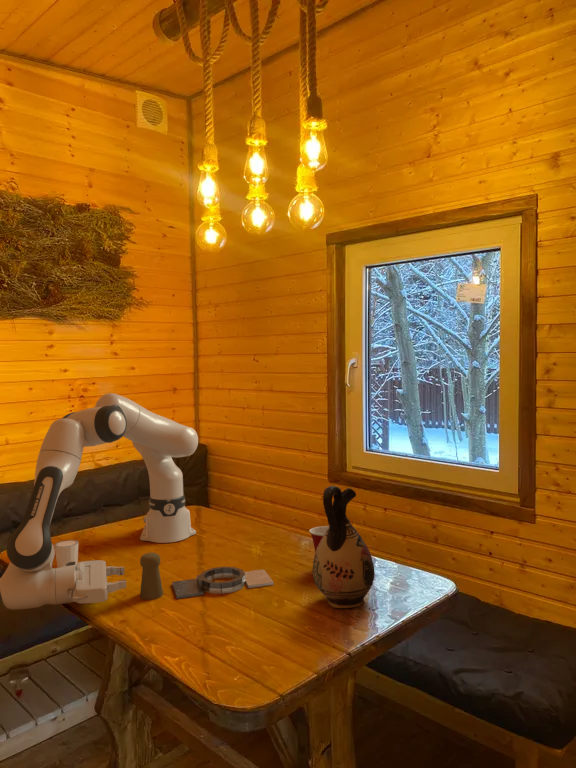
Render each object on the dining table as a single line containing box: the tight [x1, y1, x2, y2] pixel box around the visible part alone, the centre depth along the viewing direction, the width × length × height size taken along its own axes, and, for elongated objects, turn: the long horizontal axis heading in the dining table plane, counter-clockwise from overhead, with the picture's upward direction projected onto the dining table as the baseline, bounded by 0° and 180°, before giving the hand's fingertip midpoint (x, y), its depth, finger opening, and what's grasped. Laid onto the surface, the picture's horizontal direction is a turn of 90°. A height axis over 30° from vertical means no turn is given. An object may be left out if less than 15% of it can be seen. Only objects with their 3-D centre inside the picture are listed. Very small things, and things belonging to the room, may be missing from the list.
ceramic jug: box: [312, 485, 376, 609], centre depth 154 cm, size 17×15×30 cm
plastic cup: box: [308, 525, 329, 553], centre depth 177 cm, size 11×11×12 cm
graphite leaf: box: [171, 566, 245, 600], centre depth 167 cm, size 12×19×3 cm, turn 108°
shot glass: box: [53, 539, 79, 568], centre depth 186 cm, size 7×7×7 cm
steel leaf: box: [202, 569, 274, 595], centre depth 170 cm, size 12×19×1 cm, turn 108°
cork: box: [139, 552, 164, 601], centre depth 163 cm, size 6×6×11 cm
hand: (125, 576), depth 161 cm, fingers open, 8 cm apart
